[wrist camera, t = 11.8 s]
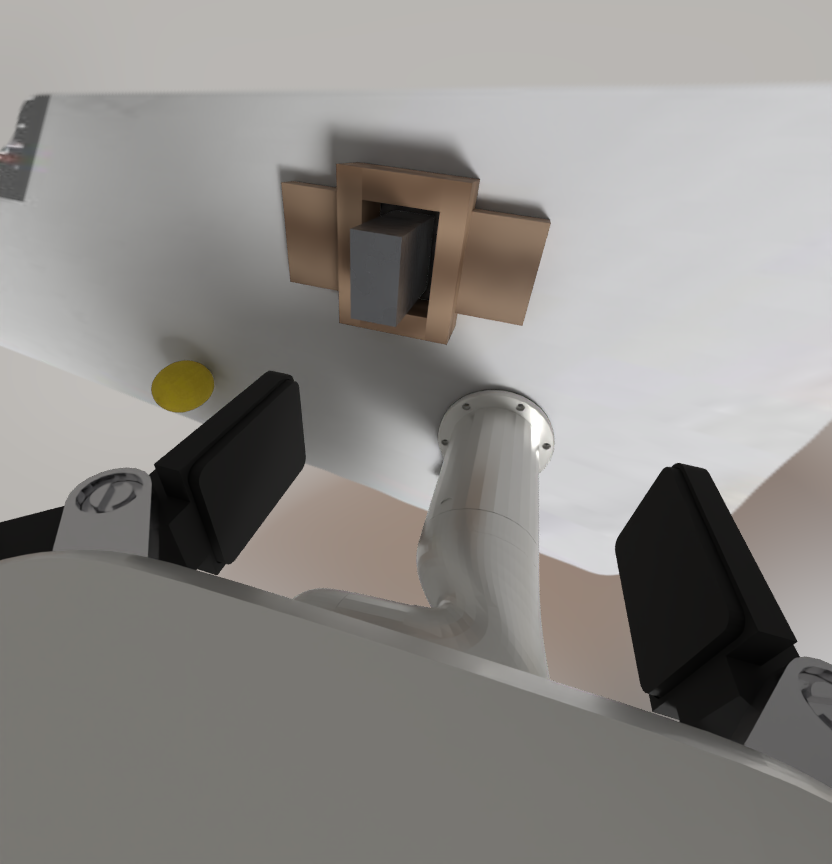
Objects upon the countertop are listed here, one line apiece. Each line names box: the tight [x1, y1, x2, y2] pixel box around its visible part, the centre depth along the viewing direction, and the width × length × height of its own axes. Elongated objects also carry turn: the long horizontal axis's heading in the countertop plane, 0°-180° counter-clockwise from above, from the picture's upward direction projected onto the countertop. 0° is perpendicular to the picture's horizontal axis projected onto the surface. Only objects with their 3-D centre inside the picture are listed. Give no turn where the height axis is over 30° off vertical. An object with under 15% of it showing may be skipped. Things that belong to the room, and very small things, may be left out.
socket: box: [281, 162, 551, 345], centre depth 33 cm, size 12×22×4 cm, turn 84°
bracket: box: [350, 210, 435, 327], centre depth 31 cm, size 6×4×10 cm, turn 174°
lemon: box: [151, 360, 214, 412], centre depth 46 cm, size 6×6×8 cm
